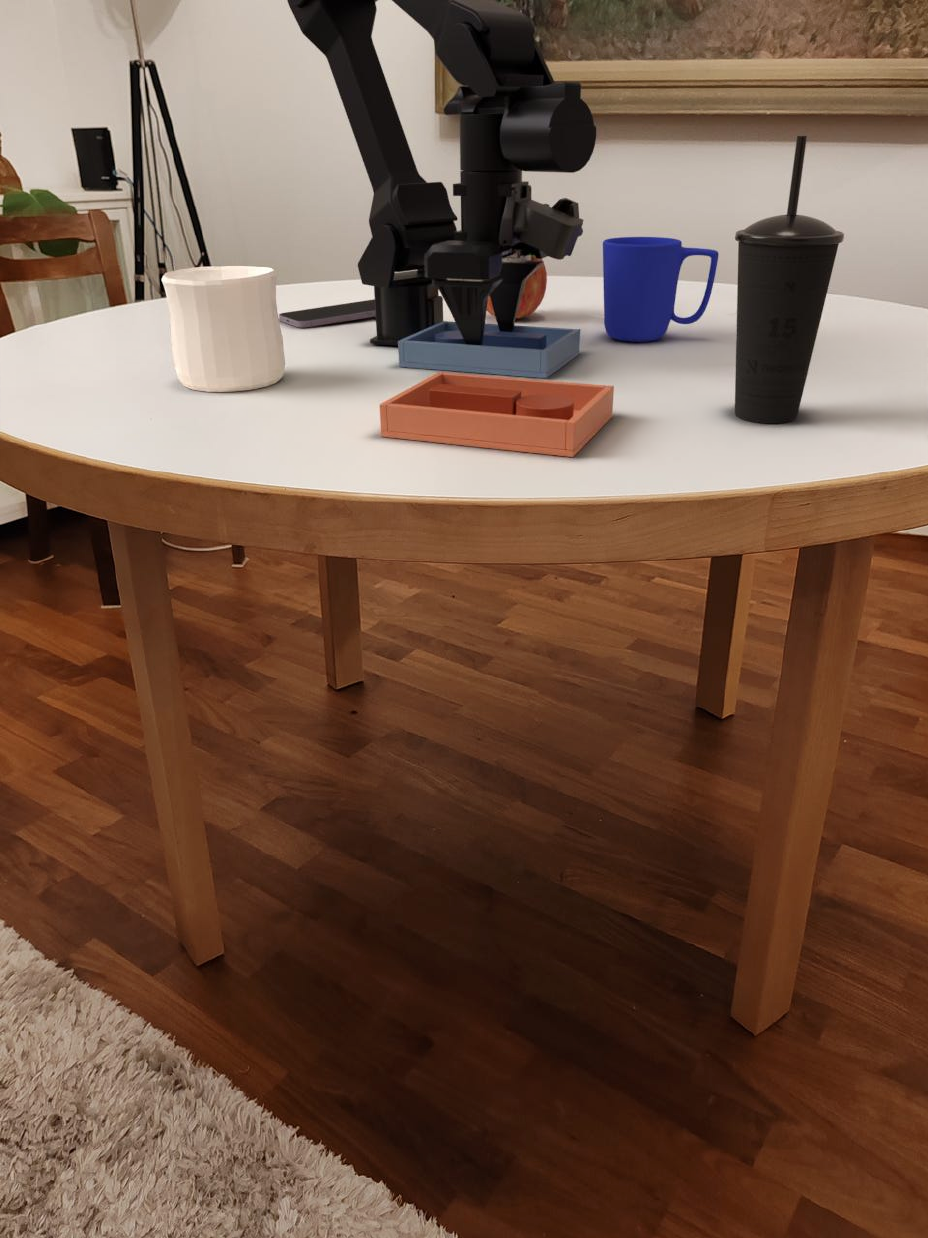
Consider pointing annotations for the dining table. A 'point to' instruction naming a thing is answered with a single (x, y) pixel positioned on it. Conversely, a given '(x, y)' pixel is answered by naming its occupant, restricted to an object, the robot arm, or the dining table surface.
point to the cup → (225, 327)
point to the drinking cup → (780, 305)
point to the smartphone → (329, 314)
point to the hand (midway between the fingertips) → (491, 343)
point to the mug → (646, 285)
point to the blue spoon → (498, 339)
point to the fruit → (529, 292)
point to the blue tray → (490, 352)
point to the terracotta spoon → (501, 401)
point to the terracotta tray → (498, 416)
